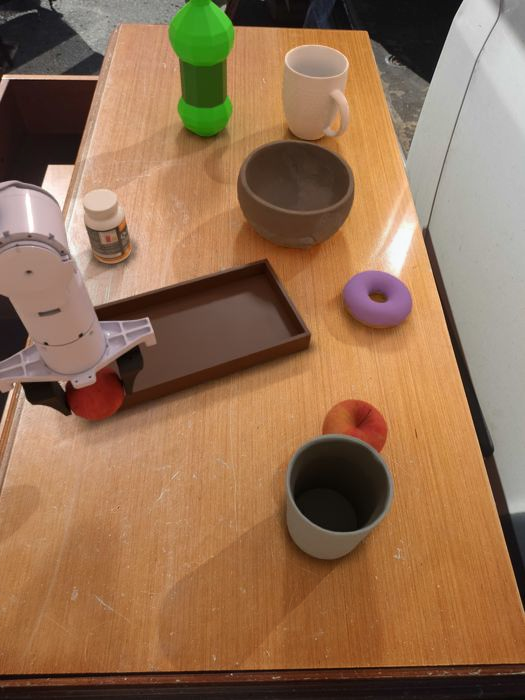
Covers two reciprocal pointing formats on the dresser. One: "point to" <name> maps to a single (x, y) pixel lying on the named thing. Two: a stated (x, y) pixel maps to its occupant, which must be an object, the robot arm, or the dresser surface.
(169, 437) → the dresser surface
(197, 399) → the dresser surface
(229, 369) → the brown dish
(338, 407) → the apple
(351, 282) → the donut
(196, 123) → the plastic bottle
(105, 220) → the pill bottle
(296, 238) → the bowl
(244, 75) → the dresser surface
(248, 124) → the dresser surface
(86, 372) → the robot arm
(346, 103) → the mug
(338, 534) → the gray cup
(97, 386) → the pomegranate
